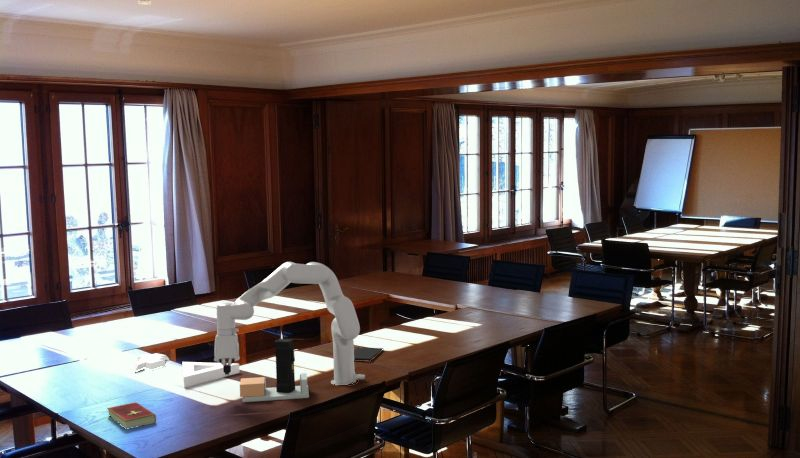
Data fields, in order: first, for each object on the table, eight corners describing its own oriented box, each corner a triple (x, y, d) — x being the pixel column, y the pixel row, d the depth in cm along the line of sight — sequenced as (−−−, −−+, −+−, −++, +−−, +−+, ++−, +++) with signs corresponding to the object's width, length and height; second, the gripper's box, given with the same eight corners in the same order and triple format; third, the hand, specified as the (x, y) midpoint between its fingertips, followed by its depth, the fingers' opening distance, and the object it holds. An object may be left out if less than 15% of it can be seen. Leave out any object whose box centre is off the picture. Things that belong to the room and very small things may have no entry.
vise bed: (307, 388, 329) (307, 372, 328) (309, 397, 315) (308, 380, 314) (244, 392, 324) (243, 376, 324) (242, 402, 310) (241, 384, 310)
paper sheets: (167, 376, 357) (167, 365, 357) (124, 379, 353) (124, 368, 353) (175, 359, 391) (174, 349, 391) (136, 362, 387) (135, 351, 387)
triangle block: (182, 374, 360) (182, 361, 360) (236, 369, 368) (236, 356, 367) (184, 390, 332) (183, 377, 331) (242, 384, 339) (242, 371, 339)
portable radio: (298, 389, 322) (296, 333, 320) (292, 393, 316) (290, 336, 314) (281, 388, 324) (279, 332, 322) (275, 392, 318) (273, 335, 317)
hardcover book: (137, 411, 303) (136, 401, 303) (156, 423, 287) (155, 413, 287) (107, 417, 296) (107, 407, 295) (125, 430, 279) (124, 419, 279)
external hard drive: (383, 353, 391) (383, 348, 391) (370, 364, 369) (369, 358, 369) (358, 352, 395) (358, 347, 395) (343, 363, 373) (343, 357, 373)
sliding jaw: (266, 388, 324) (265, 376, 323) (265, 395, 314) (265, 382, 313) (241, 390, 322) (241, 378, 322) (240, 397, 312) (239, 384, 312)
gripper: (244, 329, 319) (245, 371, 320) (209, 330, 317) (210, 372, 318) (243, 333, 312) (244, 375, 313) (207, 334, 310) (208, 377, 311)
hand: (227, 374), depth 316 cm, fingers closed
